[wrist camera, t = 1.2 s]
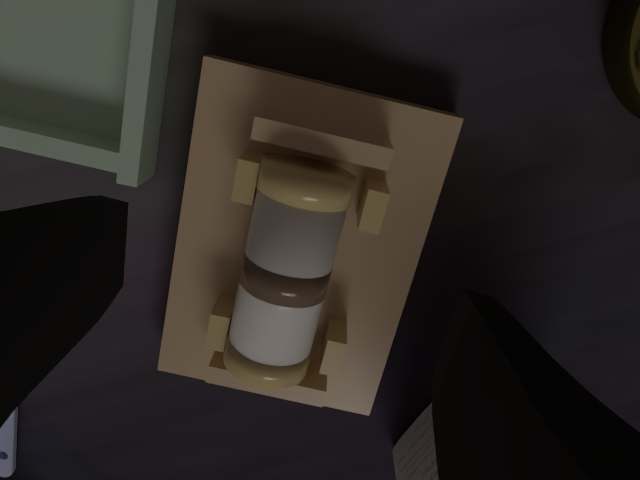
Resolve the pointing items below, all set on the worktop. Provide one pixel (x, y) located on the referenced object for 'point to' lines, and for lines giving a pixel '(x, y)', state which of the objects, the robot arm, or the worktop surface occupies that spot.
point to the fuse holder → (357, 233)
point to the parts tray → (86, 81)
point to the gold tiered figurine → (624, 53)
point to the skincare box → (417, 450)
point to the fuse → (286, 268)
